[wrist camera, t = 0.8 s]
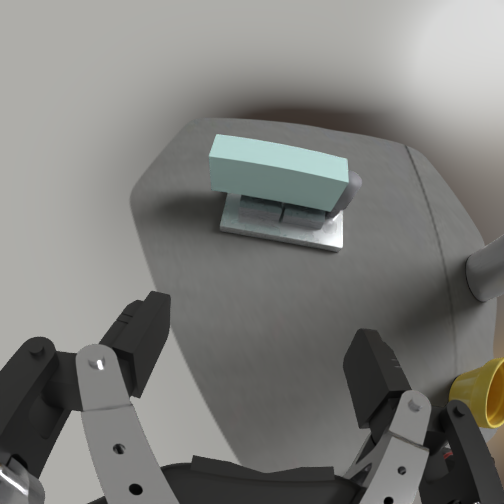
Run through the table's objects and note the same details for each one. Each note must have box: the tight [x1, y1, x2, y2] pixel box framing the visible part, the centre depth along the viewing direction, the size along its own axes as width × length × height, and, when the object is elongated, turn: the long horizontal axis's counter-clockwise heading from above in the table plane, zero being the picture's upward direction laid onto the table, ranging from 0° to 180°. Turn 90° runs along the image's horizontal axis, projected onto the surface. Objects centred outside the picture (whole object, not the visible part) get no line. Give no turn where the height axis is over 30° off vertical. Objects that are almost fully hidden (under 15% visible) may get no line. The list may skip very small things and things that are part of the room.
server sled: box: [220, 193, 343, 252], centre depth 36 cm, size 16×10×4 cm, turn 81°
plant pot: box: [449, 357, 504, 429], centre depth 24 cm, size 10×10×10 cm
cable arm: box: [209, 134, 362, 212], centre depth 31 cm, size 17×4×6 cm, turn 81°
